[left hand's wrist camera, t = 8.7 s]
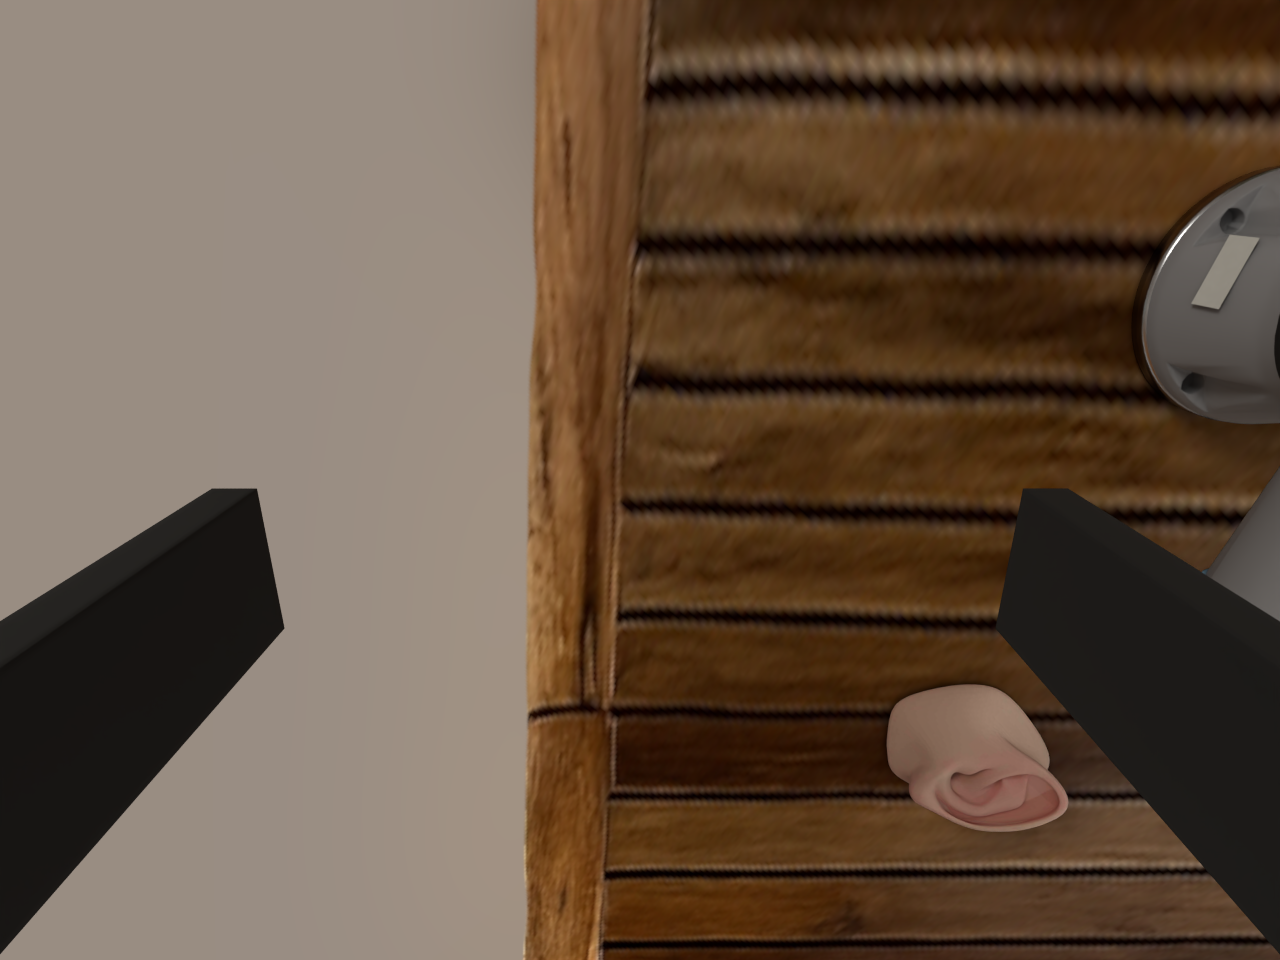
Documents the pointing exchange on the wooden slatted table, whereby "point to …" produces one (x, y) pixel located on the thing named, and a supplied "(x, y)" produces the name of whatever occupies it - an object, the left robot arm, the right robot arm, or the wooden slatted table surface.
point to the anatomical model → (974, 759)
